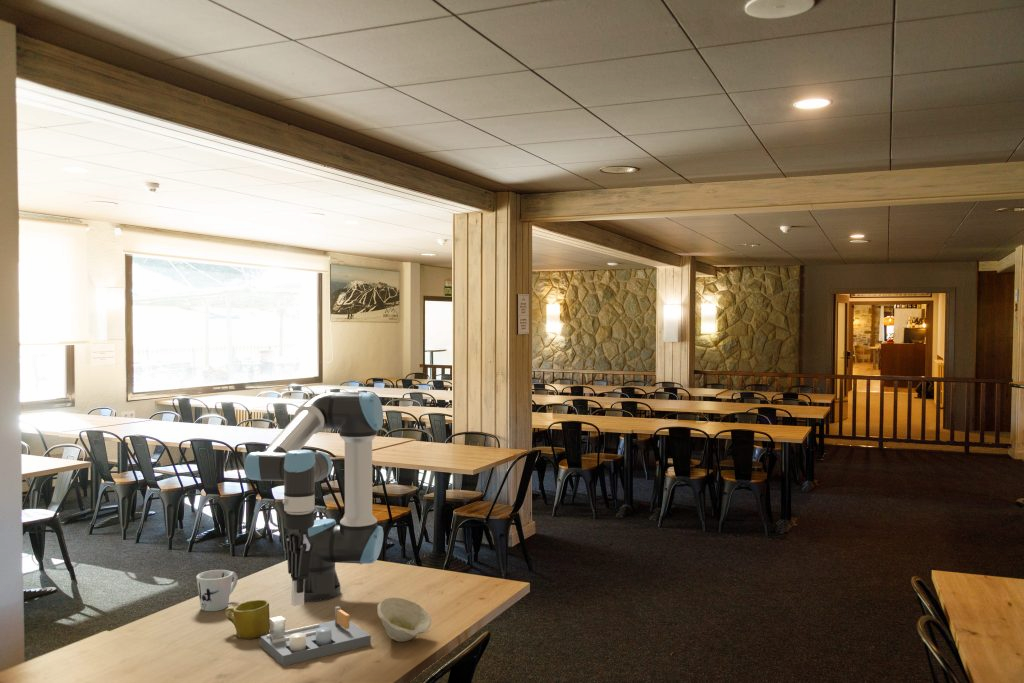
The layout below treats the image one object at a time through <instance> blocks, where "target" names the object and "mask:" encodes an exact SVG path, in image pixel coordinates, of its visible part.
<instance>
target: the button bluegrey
mask: <svg viewBox="0 0 1024 683" xmlns="http://www.w3.org/2000/svg"><path fill="white" fill-rule="evenodd" d="M331 642H332V629H331V628H328V627H323V628H318V629H317V630H316V645H319V646H323V645H327V644H331Z"/></svg>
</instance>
